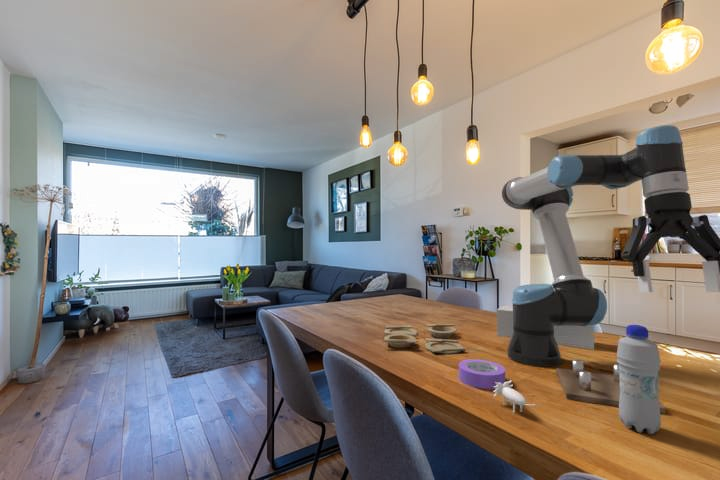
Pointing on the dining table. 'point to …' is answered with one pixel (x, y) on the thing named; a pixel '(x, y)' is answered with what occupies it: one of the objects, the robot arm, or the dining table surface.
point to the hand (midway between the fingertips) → (679, 292)
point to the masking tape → (481, 373)
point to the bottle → (639, 380)
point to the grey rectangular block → (562, 334)
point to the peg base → (593, 388)
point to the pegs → (589, 374)
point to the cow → (510, 395)
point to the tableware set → (404, 338)
